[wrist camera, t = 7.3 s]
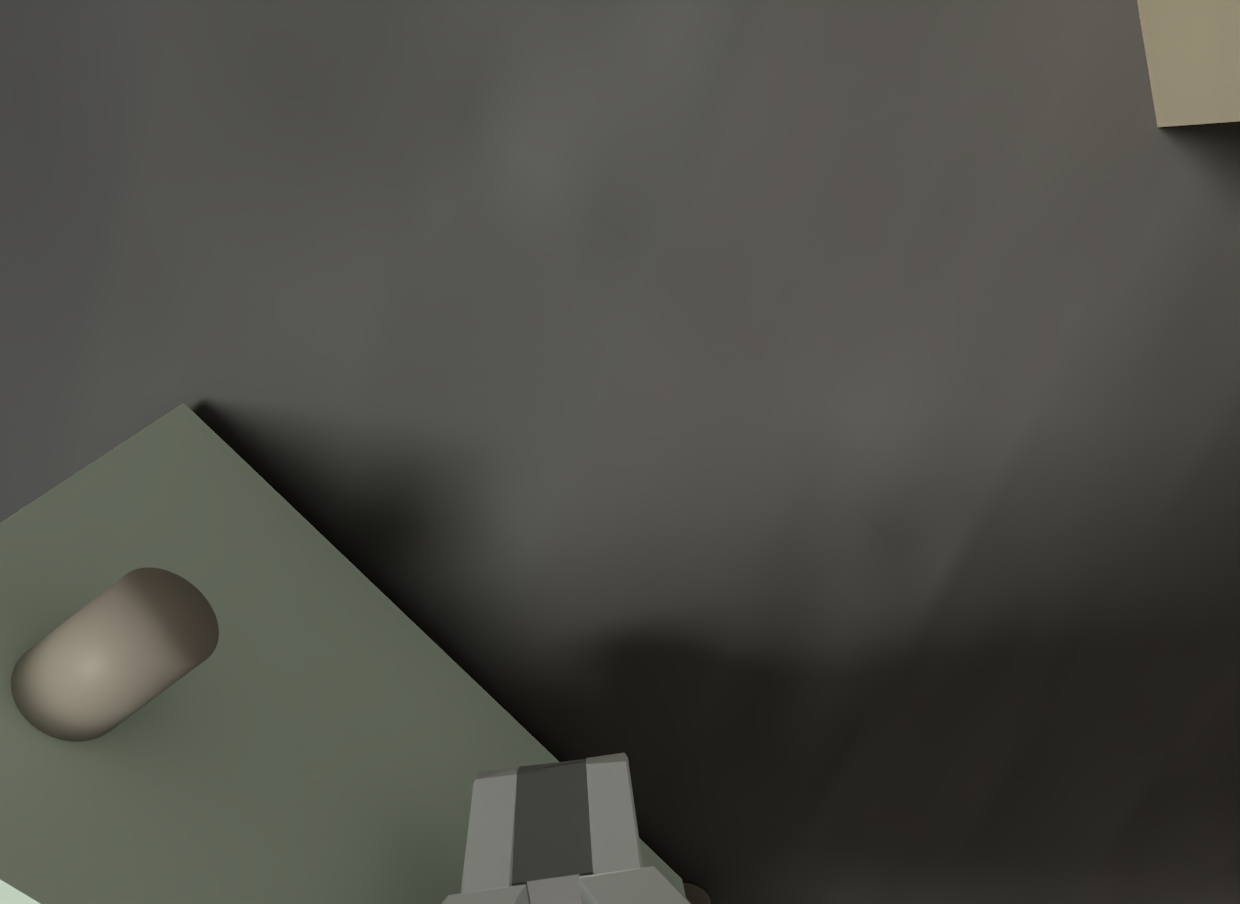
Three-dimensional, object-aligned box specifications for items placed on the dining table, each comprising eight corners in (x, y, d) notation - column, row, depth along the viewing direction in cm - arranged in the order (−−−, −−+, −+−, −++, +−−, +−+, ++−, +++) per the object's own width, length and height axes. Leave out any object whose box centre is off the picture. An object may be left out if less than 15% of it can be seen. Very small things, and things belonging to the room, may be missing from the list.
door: (729, 849, 15) (860, 1306, 9) (620, 917, 15) (674, 1403, 9) (245, 353, 10) (-152, 601, 4) (104, 466, 11) (-442, 841, 5)
